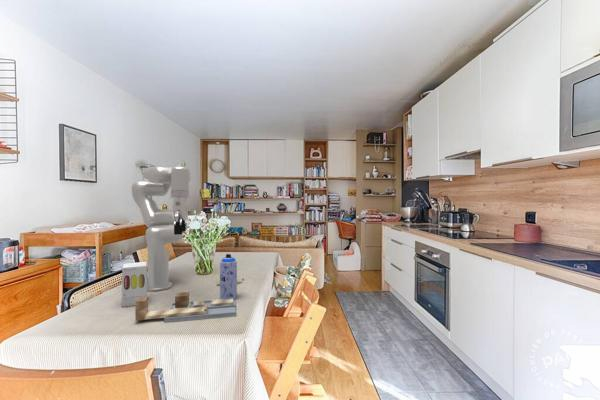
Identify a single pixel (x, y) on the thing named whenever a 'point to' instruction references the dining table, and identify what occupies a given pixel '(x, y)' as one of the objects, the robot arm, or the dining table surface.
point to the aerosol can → (228, 277)
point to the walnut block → (182, 300)
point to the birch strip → (163, 311)
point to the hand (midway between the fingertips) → (180, 232)
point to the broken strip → (214, 303)
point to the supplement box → (133, 282)
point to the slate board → (211, 313)
